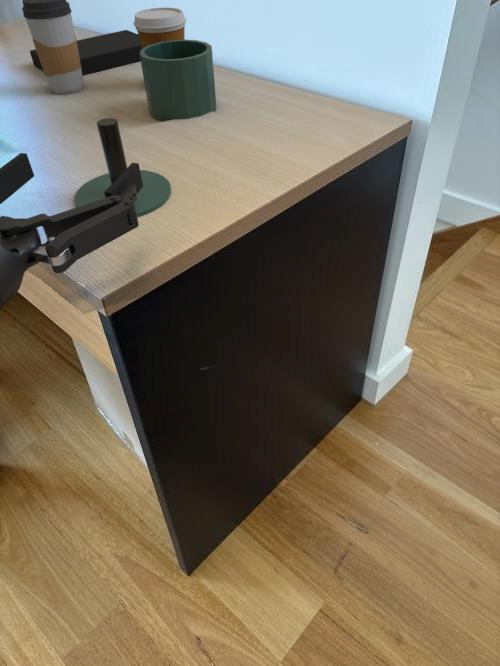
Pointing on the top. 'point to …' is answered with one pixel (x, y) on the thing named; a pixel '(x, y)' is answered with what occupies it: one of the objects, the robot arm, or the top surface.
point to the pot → (179, 79)
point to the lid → (93, 190)
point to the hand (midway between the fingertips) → (81, 169)
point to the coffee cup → (55, 43)
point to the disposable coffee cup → (159, 25)
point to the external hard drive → (104, 51)
